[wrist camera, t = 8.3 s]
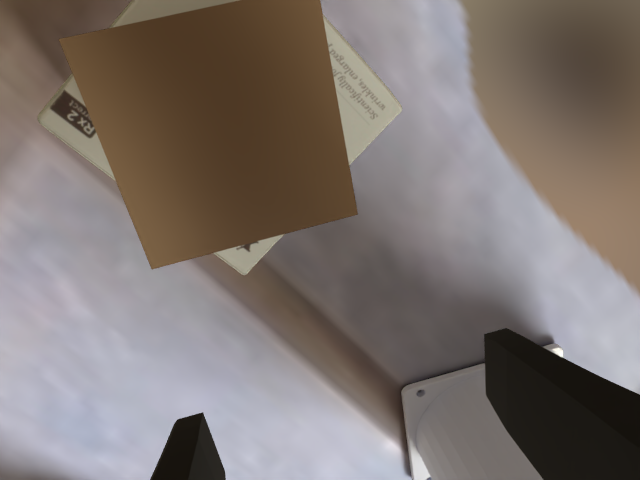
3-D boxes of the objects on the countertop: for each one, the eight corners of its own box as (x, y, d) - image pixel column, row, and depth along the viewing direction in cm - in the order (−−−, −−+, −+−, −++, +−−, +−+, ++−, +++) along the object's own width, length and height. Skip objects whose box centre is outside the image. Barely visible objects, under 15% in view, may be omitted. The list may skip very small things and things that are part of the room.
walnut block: (288, -3, 13) (316, -17, 9) (324, 171, 15) (357, 214, 11) (103, 37, 12) (58, 39, 9) (167, 211, 15) (151, 269, 11)
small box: (365, 92, 19) (412, 111, 15) (237, 228, 21) (244, 284, 16) (216, -72, 16) (217, -113, 12) (75, 100, 17) (25, 124, 13)
